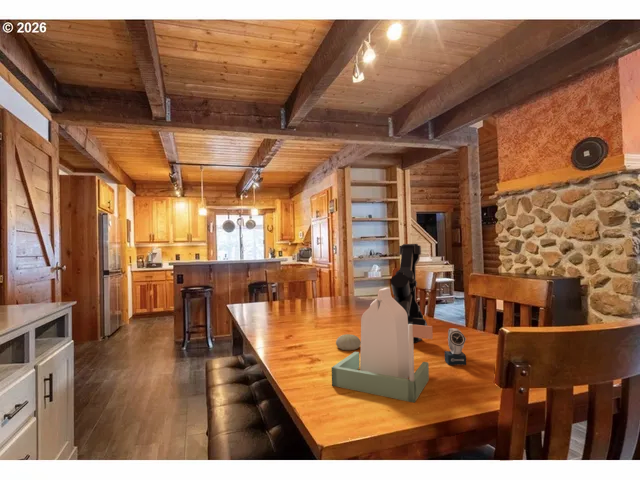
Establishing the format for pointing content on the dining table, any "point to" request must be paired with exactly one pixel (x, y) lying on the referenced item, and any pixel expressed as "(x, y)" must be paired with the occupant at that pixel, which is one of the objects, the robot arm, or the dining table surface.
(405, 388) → the corral
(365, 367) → the milk
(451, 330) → the watch
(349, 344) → the sea urchin shell
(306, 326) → the dining table surface
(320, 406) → the dining table surface
